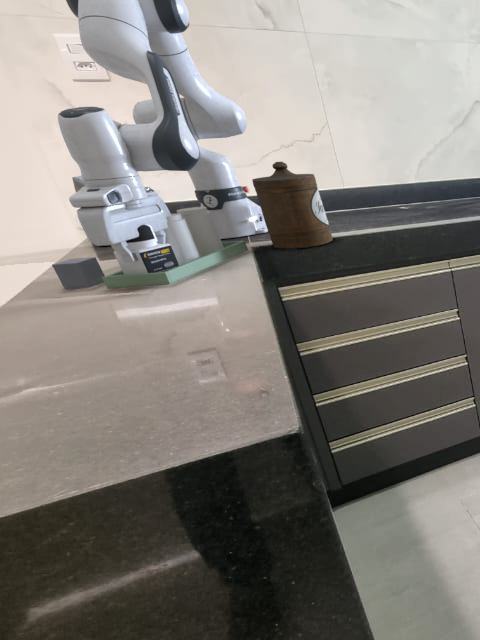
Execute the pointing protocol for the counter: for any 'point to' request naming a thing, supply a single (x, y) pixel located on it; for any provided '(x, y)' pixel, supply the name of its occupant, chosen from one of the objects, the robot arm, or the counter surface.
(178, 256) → the white bottle
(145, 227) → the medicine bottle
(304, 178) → the wooden container
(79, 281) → the grey box
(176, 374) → the counter surface
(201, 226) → the white bottle
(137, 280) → the tray
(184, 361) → the counter surface
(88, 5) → the robot arm
